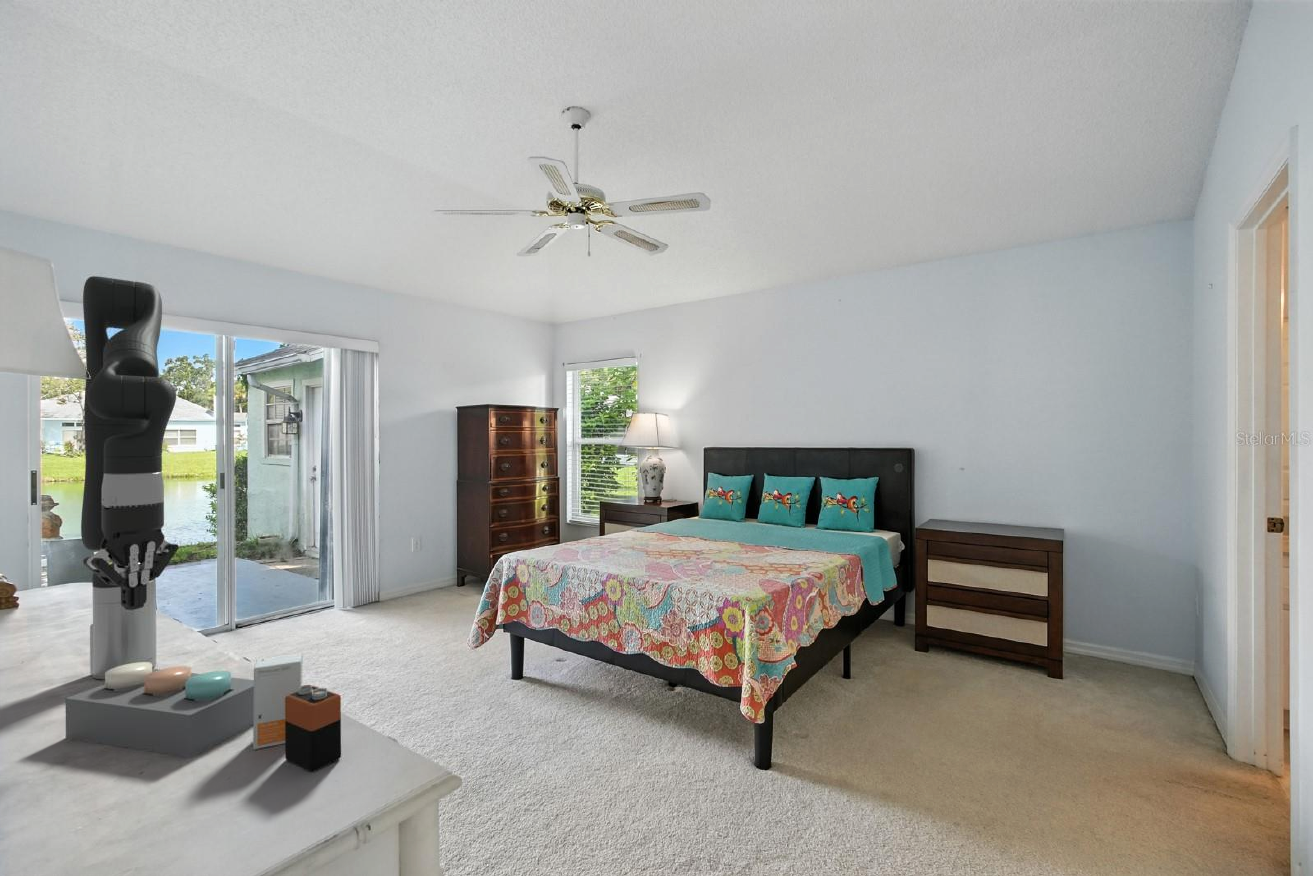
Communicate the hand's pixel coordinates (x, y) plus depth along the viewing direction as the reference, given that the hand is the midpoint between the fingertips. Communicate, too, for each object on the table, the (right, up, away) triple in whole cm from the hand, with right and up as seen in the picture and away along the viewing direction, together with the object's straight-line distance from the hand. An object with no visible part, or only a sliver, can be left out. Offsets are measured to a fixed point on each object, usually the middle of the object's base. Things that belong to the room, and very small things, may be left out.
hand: (133, 608), depth 96 cm
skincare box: (+27, -18, -7) cm, 34 cm away
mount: (+8, -18, -3) cm, 20 cm away
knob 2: (+16, -17, -5) cm, 23 cm away
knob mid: (+8, -17, -3) cm, 19 cm away
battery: (+36, -18, -12) cm, 42 cm away
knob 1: (0, -17, -1) cm, 17 cm away
